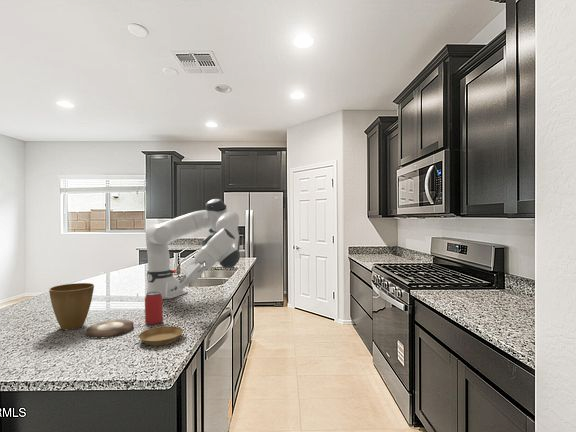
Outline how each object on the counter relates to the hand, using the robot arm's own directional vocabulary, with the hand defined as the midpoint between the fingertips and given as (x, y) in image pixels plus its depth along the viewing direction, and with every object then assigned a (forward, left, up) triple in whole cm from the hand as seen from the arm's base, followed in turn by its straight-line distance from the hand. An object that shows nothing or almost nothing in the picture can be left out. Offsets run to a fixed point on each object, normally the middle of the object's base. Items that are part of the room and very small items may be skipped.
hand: (180, 285), depth 138 cm
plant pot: (+27, -31, -15) cm, 43 cm away
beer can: (+8, -7, -15) cm, 18 cm away
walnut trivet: (+22, -14, -14) cm, 29 cm away
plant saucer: (+18, +11, -15) cm, 26 cm away
